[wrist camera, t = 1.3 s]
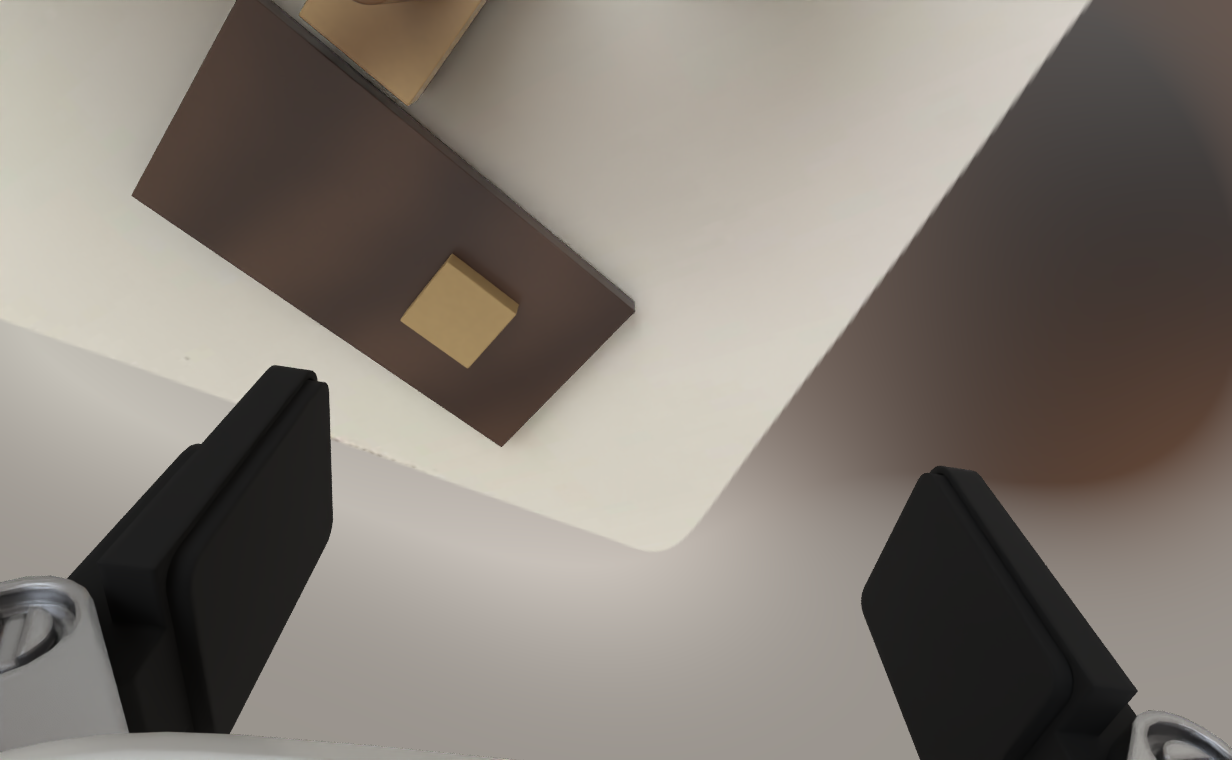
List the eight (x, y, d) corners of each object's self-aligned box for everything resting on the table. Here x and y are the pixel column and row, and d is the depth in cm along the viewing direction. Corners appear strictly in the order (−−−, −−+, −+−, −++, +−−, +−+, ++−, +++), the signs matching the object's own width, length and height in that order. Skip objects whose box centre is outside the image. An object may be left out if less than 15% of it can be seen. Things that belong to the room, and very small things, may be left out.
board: (145, 188, 33) (130, 195, 32) (256, -13, 29) (242, -13, 27) (504, 435, 40) (501, 447, 38) (635, 301, 35) (635, 311, 34)
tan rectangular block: (405, 310, 34) (399, 320, 33) (452, 252, 33) (447, 261, 32) (472, 358, 36) (467, 369, 35) (519, 304, 34) (516, 314, 33)
